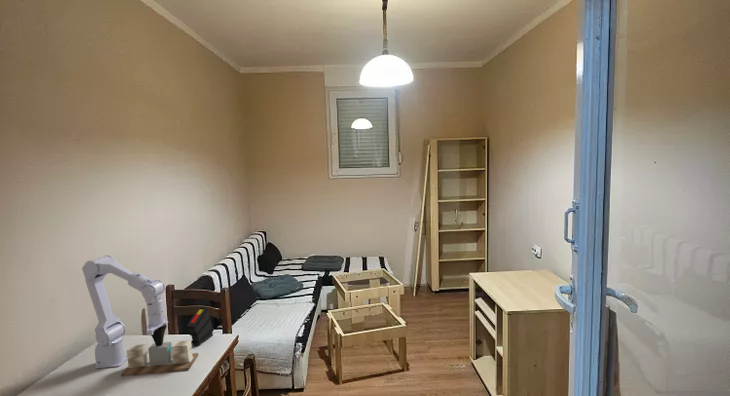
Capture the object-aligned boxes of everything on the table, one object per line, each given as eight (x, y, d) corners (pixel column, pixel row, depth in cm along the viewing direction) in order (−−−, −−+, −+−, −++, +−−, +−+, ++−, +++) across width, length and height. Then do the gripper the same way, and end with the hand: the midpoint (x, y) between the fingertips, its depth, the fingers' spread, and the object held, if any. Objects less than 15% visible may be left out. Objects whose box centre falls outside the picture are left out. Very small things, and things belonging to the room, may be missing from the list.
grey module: (150, 365, 161) (148, 348, 160) (154, 360, 165) (152, 343, 165) (168, 363, 162) (167, 347, 161) (172, 358, 166) (171, 341, 165)
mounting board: (121, 376, 157) (119, 355, 156) (136, 360, 169) (133, 341, 168) (188, 370, 159) (186, 349, 158) (198, 355, 171) (196, 336, 170)
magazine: (217, 329, 192) (206, 306, 184) (203, 352, 181) (190, 329, 174) (210, 328, 193) (199, 306, 185) (195, 352, 182) (183, 329, 175)
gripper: (158, 318, 155) (162, 352, 156) (173, 304, 169) (176, 335, 170) (139, 319, 154) (143, 354, 155) (155, 305, 168) (158, 337, 170)
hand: (159, 344), depth 163 cm, fingers closed
